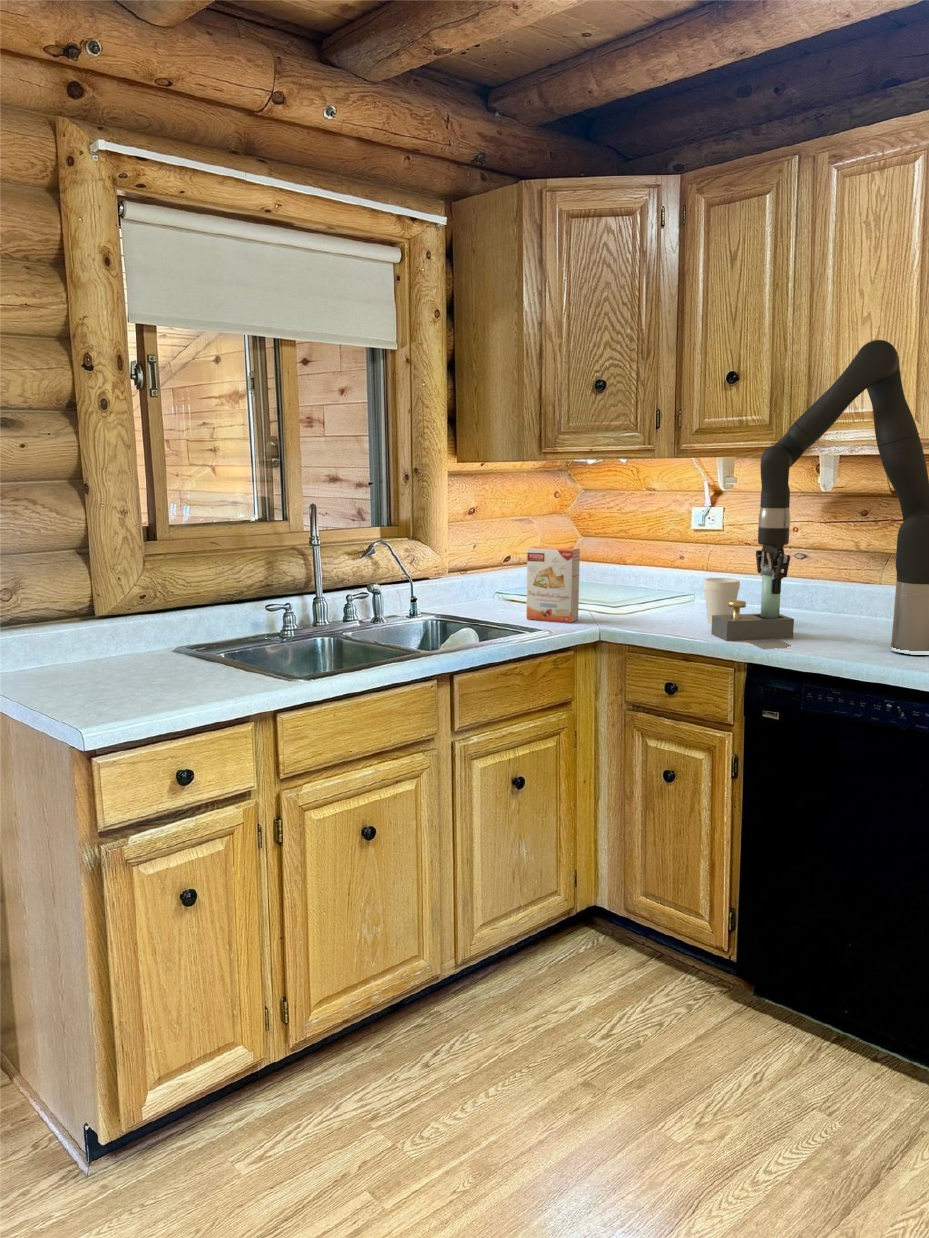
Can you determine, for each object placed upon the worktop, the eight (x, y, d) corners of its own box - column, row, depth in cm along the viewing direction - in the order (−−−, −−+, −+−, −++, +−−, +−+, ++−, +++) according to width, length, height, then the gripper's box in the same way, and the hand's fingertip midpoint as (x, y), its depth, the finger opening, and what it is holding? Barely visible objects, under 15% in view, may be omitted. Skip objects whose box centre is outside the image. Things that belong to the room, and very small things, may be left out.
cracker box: (525, 619, 276) (526, 547, 272) (534, 616, 281) (534, 545, 277) (571, 623, 269) (572, 549, 265) (578, 620, 274) (580, 547, 271)
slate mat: (779, 644, 241) (779, 640, 241) (797, 651, 232) (797, 647, 232) (745, 645, 240) (745, 641, 240) (762, 652, 231) (762, 648, 231)
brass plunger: (739, 635, 248) (741, 600, 246) (747, 638, 244) (749, 602, 242) (723, 635, 247) (725, 600, 245) (730, 639, 243) (732, 603, 241)
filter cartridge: (774, 614, 249) (776, 564, 246) (783, 617, 244) (786, 567, 242) (756, 615, 248) (758, 565, 246) (765, 618, 243) (767, 567, 241)
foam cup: (713, 630, 259) (715, 582, 257) (696, 624, 268) (697, 578, 266) (744, 628, 262) (746, 581, 259) (726, 622, 270) (728, 577, 268)
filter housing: (775, 635, 252) (776, 612, 251) (792, 642, 243) (794, 618, 242) (711, 637, 249) (712, 615, 248) (726, 644, 240) (727, 621, 239)
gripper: (802, 527, 235) (798, 596, 238) (774, 523, 249) (771, 588, 252) (773, 528, 234) (770, 597, 237) (747, 523, 248) (744, 589, 251)
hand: (770, 592), depth 245 cm, fingers closed on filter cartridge, 4 cm apart
